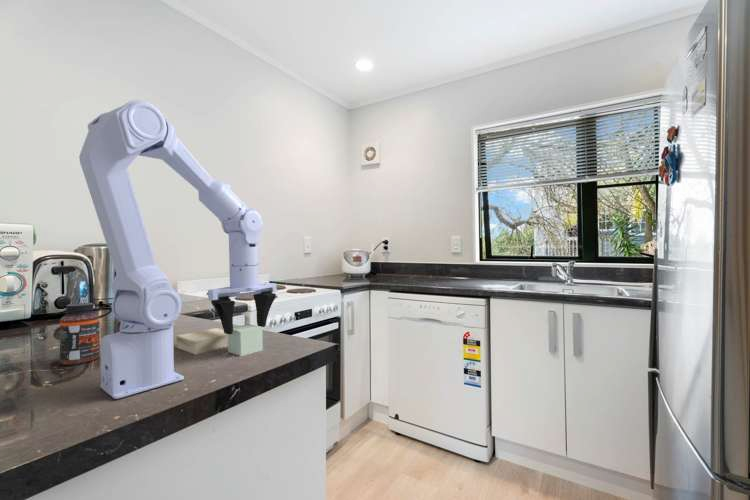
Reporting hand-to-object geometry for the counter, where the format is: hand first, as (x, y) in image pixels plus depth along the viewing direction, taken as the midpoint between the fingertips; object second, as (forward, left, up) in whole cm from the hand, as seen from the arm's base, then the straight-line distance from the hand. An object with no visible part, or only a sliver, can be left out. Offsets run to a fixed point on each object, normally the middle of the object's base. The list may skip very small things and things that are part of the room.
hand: (245, 329), depth 72 cm
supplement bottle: (-23, +21, -5) cm, 32 cm away
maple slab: (-3, +11, -5) cm, 12 cm away
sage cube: (0, 0, -5) cm, 5 cm away
